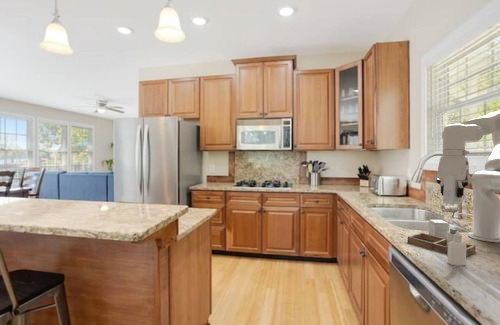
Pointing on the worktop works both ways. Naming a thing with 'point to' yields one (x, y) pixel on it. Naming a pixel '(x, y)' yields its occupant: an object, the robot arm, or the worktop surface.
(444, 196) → the skincare box
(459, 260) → the eye dropper bottle
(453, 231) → the sage bottle
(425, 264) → the worktop surface
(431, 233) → the skincare box
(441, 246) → the wooden frame
